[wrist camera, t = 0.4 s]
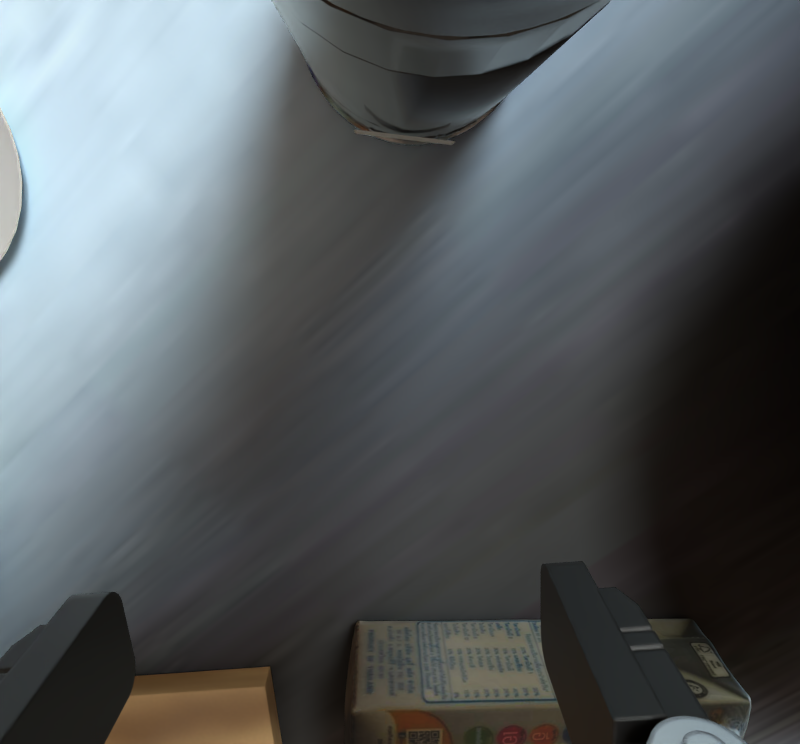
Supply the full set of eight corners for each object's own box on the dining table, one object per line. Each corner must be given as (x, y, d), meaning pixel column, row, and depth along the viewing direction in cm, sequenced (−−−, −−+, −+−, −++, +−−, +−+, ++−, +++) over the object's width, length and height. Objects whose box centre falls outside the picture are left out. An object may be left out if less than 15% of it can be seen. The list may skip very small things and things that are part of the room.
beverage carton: (674, 726, 35) (737, 842, 29) (349, 727, 35) (340, 845, 28) (695, 612, 33) (768, 710, 26) (348, 612, 32) (338, 711, 26)
